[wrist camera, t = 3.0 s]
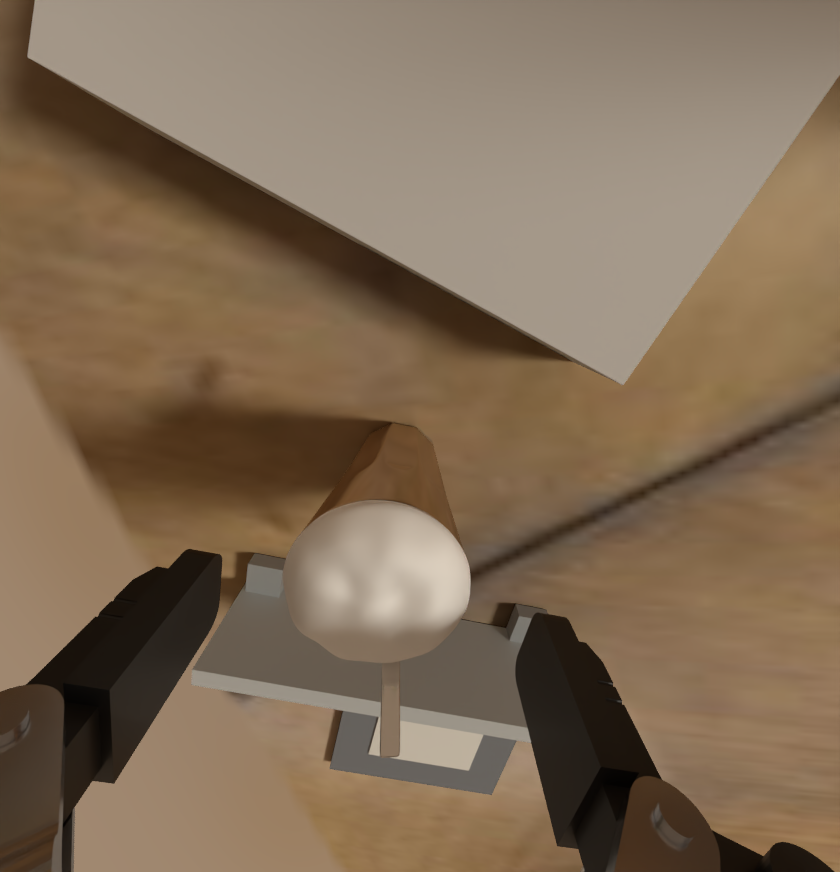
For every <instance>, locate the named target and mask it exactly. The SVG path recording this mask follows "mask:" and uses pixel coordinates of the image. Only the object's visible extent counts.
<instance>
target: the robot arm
mask: <svg viewBox="0 0 840 872" xmlns="http://www.w3.org/2000/svg"><path fill="white" fill-rule="evenodd" d="M221 571H222V557H221V555H220V554H215V553H209V552H204V551H198V550H192V549H187V550H186V551H184V552H183V553H182V554H181V555H180V556H179V558H178V559H177V560H176V561H175V562H174V563H173V564H172V565H171V566H170V567H169V568H162V567H155V568H153V569H152V570H150V571H148V572H146V573H144V574H143V575H141V576H139V577H137V578H135V579H133V580H132V581H131V582H130V583H129V584H128V585H127V586H126V587H125V588H124V589H123V590H122V591H121V592H120V593H119V594H118V595H117V596H116V597H115V599H114V601H111V602H110V603H109V604H108V605H107V606H106V607H105V608H104V609H103V610H102V611H101V612H100V613H99V616H98V617H95V618H94V619H93V620H92V621H91V622H90V623H89V624H88V625H87V626H86V627H85V628H84V629H82V631H80V633H78V634H77V636H75V637H74V639H72V640H71V641H70V642H69V643H68V644H67V646H65V647H64V648H63V649H62V650H61V651H60V652H59V653H58V654H57V655H56V656H55V657H54V658H53V659H52V660H51V661H50V662H49V663H48V664H47V665H46V666H45V667H44V668H43V669H42V670H41V671H40V672H39V673H38V674H37V675H36V676H35V677H34V678H33V679H32V680H31V681H29V682H28V684H26V685H23V686H18V687H14V688H10V689H7V690H4V691H1V692H0V872H74V823H75V822H74V821H75V809H74V807H75V806H76V804H77V803H78V801H79V800H80V798H81V797H82V795H83V794H84V792H85V791H86V789H87V788H88V786H89V785H90V783H91V782H92V781H99V782H106V783H115V781H116V780H117V778H118V776H119V775H120V773H121V772H122V770H123V768H124V767H125V765H126V764H127V762H128V760H129V759H130V757H131V756H132V754H133V752H134V751H135V749H136V748H137V746H138V744H139V743H140V741H141V740H142V738H143V736H144V735H145V733H146V732H147V730H148V729H149V727H150V725H151V724H152V722H153V721H154V719H155V717H156V716H157V714H158V713H159V711H160V709H161V708H162V706H163V704H164V703H165V701H166V700H167V698H168V697H169V695H170V693H171V692H172V690H173V689H174V687H175V686H176V684H177V682H178V681H179V679H180V678H181V676H182V674H183V673H184V671H185V670H186V668H187V666H188V665H189V663H190V661H191V660H192V658H193V657H194V655H195V654H196V652H197V650H198V649H199V647H200V646H201V644H202V643H203V641H204V639H205V638H206V636H207V635H208V633H209V631H210V629H211V628H212V625H213V623H214V621H215V618H216V615H217V612H218V608H219V600H220V586H221ZM515 678H516V684H517V688H518V692H519V696H520V700H521V704H522V708H523V712H524V716H525V720H526V724H527V728H528V732H529V736H530V740H531V744H532V748H533V752H534V756H535V760H536V764H537V768H538V771H539V775H540V779H541V783H542V787H543V791H544V795H545V799H546V803H547V807H548V811H549V815H550V819H551V823H552V827H553V831H554V835H555V839H556V843H557V846H560V847H568V848H575V849H579V853H580V856H581V860H582V863H583V867H582V869H581V871H580V872H834V871H833V870H832V869H831V868H830V867H828V866H827V865H826V864H825V863H824V862H822V861H821V860H820V859H818V858H817V857H816V856H814V855H813V854H811V853H810V852H808V851H806V850H805V849H803V848H801V847H798V846H796V845H794V844H790V843H786V842H780V843H776V844H775V845H773V846H772V847H771V849H770V850H769V851H768V852H767V853H766V854H765V856H762V855H760V854H758V853H756V852H754V851H752V850H750V849H748V848H746V847H744V846H742V845H740V844H738V843H736V842H734V841H732V840H730V839H728V838H726V837H724V836H722V835H720V834H718V833H716V832H714V831H713V830H711V828H710V826H709V824H708V823H707V821H706V820H705V818H704V817H703V815H702V814H701V813H700V811H699V810H698V809H697V808H696V806H695V805H694V804H693V803H692V802H691V801H690V800H689V799H688V798H687V797H686V796H685V795H684V794H683V793H681V792H680V791H679V790H678V789H677V788H675V787H674V786H672V785H671V784H669V783H667V782H665V781H663V780H662V779H661V777H660V775H659V773H658V771H657V769H656V767H655V765H654V763H653V761H652V759H651V757H650V755H649V753H648V751H647V749H646V747H645V745H644V743H643V741H642V739H641V737H640V735H639V733H638V731H637V729H636V727H635V725H634V723H633V721H632V719H631V717H630V716H629V714H628V712H627V710H626V708H625V706H624V705H622V700H621V698H620V696H619V694H618V692H617V690H616V688H615V687H613V682H612V680H611V678H610V676H609V674H608V672H607V670H606V668H605V666H604V664H603V662H602V661H601V660H600V658H599V657H598V656H597V655H596V654H595V653H594V652H593V650H592V649H591V648H590V647H589V646H588V645H587V644H586V643H584V642H579V641H578V639H577V637H576V634H575V632H574V630H573V628H572V626H571V624H570V622H569V620H568V619H567V618H565V617H561V616H555V615H549V614H544V613H535V614H534V615H533V617H532V619H531V622H530V624H529V627H528V630H527V632H526V635H525V637H524V640H523V642H522V645H521V647H520V650H519V652H518V655H517V659H516V665H515Z"/></svg>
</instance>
